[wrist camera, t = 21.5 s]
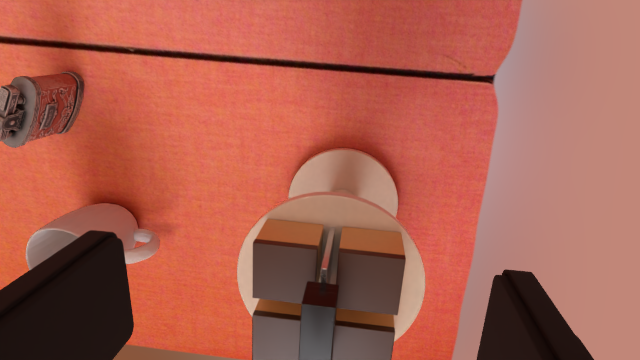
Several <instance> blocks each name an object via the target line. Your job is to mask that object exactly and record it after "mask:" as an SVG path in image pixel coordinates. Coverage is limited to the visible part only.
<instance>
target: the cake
mask: <svg viewBox="0 0 640 360" xmlns="http://www.w3.org/2000/svg"><path fill="white" fill-rule="evenodd" d="M323 229H324V225H322V224H312V223H303V222H293V221H284V220H274V219H267V220H266V221H265V223H264V225H263V227H262V228H261V230H260V232H259V234H258V235H257V237H256V239H255V240H254V242H253V296H252V297H253V298H258V299H259V301H258V303H257V306H256V308H255V310H254V312H253V315H252V360H298V358H299V340H300V321H301V304H302V300H303V296H304V292H305V288H306V285H307V281H311V282H319V279H320V273H321V258H322V244H323ZM405 262H406V258H405V252H404V246H403V240H402V233H400V232H390V231H381V230H371V229H362V228H352V227H342V233H341V240H340V246H339V253H338V265H337V277H336V284H337V285H339V292H338V303H337V315H336V326H335V337H334V349H333V360H391V358H392V351H393V344H394V337H395V325H394V315H398V310H399V303H400V296H401V290H402V283H403V276H404V269H405Z"/></svg>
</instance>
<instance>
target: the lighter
mask: <svg viewBox="0 0 640 360" xmlns="http://www.w3.org/2000/svg"><path fill="white" fill-rule="evenodd" d="M83 90H84V81H83V79H82V78H81V76H80V75H78V74H77V73H75V72H72V71H68V72H62V73H61V74H56V75H47V76H38V77H28V76H21V77H16V78H14V79H13V80H12V82H11V84H10V85H5V86H1V87H0V141H3V142H4V143H5V144H6V145H8V146H10V147H15V148H16V147H19V146H22V145H25V144H26V143H27V142H29V141H33V140H36V139H40V138H43V137H46V136H50V135H53V134H62V133H65V132H68V131H69V130H70V128H71V126H72V125H73V123H74V121H75V119H76V117H77V115H78V112H79V110H80V106H81V102H82V98H83Z"/></svg>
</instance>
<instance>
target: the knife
mask: <svg viewBox="0 0 640 360" xmlns="http://www.w3.org/2000/svg"><path fill="white" fill-rule="evenodd" d="M334 237H335V227H330V230H329V234H328V239H327V243H326V248H325V253H324V257H323V262H322V266H321V276H320V282H311V281H307V285H306V288H305V292H304V296H303V300H302V304H301V321H300V340H299V358H298V360H333V349H334V337H335V326H336V315H337V303H338V292H339V285H337V284H331V275H332V262H333V250H334Z"/></svg>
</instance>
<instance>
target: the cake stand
mask: <svg viewBox="0 0 640 360" xmlns="http://www.w3.org/2000/svg"><path fill="white" fill-rule="evenodd" d="M397 210H398V195H397V189H396V186H395V183H394V180H393V178H392V176H391V174H390V173H389V171H388V170H387V169H386V168H385V166H384V165H383V164H382V163H381V162H379V161H378V160H377V159H376V158H374V157H373V156H371V155H369V154H367V153H365V152H362V151H359V150H356V149H351V148H334V149H329V150H325V151H322V152H320V153H318V154H316V155H314V156H312V157H311V158H309V159H308V160H307V161H306V162H305V163H304V164H303V165H302V166H301V167H300V168H299V170H298V171H297V173H296V174H295V176H294V178H293V180H292V182H291V186H290V189H289V197H288V199H287V200H285V201H283V202H281V203H279V204H277V205H276V206H274V207H273V208H271V209H269V210H268V211H267V212H266V213H265V214H264V215H262V216H261V217H260V218H259V220H258V221H257V222H256V223H255V224H254V225H253V227H252V228H251V230H250V232H249V233H248V235H247V236H246V238H245V240H244V242H243V245H242V247H241V250H240V254H239V257H238V265H237V280H238V285H239V290H240V294H241V297H242V300H243V302H244V304H245V306H246V308H247V310H248V312H249V313H250V315H251V316H252V315H253V312H254V310H255V308H256V306H257V303H258V301H259V299H258V298H253V297H252V296H253V242H254V240H255V239H256V237H257V235H258V234H259V232H260V230H261V228H262V227H263V225H264V223H265V221H266V220H267V219H274V220H284V221H293V222H303V223H312V224H322V225H324V229H323V244H322V258H321V266H322V262H323V257H324V253H325V248H326V243H327V239H328V234H329V230H330V227H335V237H334V250H333V262H332V275H331V284H336V277H337V265H338V253H339V246H340V240H341V233H342V227H352V228H362V229H371V230H381V231H390V232H400V233H402V240H403V246H404V252H405V258H406V262H405V269H404V276H403V283H402V290H401V296H400V303H399V310H398V315H394V325H395V337H394V341H396V340H397V339H398V338H399V337H400V336H402V335H403V334H404V333H405V331H406V330H407V329H408V328H409V327H410V326H411V324H412V323H413V321H414V320H415V318H416V316H417V314H418V312H419V310H420V308H421V305H422V302H423V298H424V292H425V272H424V266H423V261H422V258H421V255H420V252H419V249H418V247H417V245H416V243H415V241H414V239H413V238H412V236H411V235H410V233H409V232H408V230H407V229H406V228H405V227H404V226H403V225H402V224H401V222H400V221H399V220H398V219H396V214H397ZM320 276H321V273H320ZM319 282H320V279H319Z"/></svg>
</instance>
